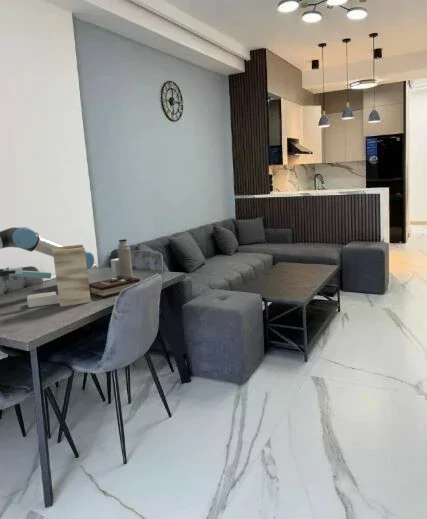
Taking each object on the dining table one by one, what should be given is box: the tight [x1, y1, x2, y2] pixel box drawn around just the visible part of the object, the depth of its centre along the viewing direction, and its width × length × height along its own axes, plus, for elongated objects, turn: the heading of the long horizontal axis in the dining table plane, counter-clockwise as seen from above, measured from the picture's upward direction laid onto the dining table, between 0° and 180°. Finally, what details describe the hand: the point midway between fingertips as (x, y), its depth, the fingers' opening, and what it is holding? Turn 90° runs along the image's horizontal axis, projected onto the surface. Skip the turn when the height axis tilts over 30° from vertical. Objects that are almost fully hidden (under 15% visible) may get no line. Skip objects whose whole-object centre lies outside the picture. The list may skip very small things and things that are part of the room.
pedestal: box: [52, 244, 92, 307], centre depth 239 cm, size 10×16×31 cm, turn 111°
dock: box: [26, 291, 58, 309], centre depth 243 cm, size 8×15×5 cm, turn 111°
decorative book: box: [89, 275, 141, 299], centre depth 260 cm, size 19×8×30 cm
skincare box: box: [110, 257, 120, 278], centre depth 291 cm, size 8×6×15 cm
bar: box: [2, 268, 52, 280], centre depth 238 cm, size 3×24×3 cm, turn 111°
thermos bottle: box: [117, 238, 134, 278], centre depth 283 cm, size 8×8×28 cm
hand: (22, 270), depth 237 cm, fingers closed on bar, 3 cm apart
